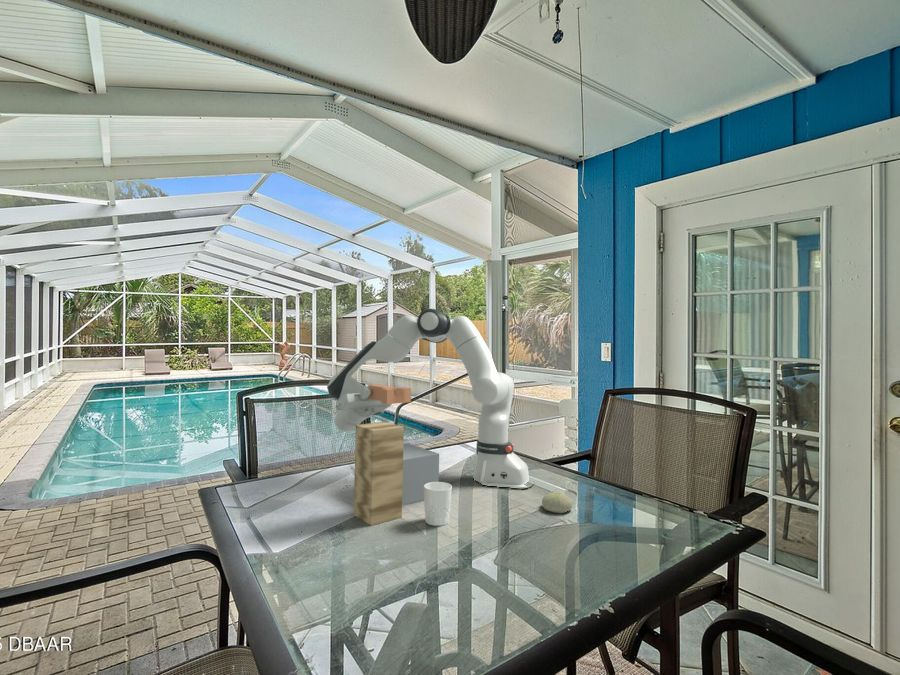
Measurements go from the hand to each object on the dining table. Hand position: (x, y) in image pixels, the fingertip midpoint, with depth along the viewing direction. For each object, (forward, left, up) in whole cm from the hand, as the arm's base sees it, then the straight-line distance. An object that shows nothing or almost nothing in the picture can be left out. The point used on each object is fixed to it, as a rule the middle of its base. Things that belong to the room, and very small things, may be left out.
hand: (378, 390), depth 160 cm
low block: (-10, 0, -33) cm, 35 cm away
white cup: (-30, +16, -34) cm, 48 cm away
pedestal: (-13, +20, -33) cm, 41 cm away
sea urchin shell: (-59, -9, -34) cm, 68 cm away
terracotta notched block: (-4, +2, -3) cm, 6 cm away
